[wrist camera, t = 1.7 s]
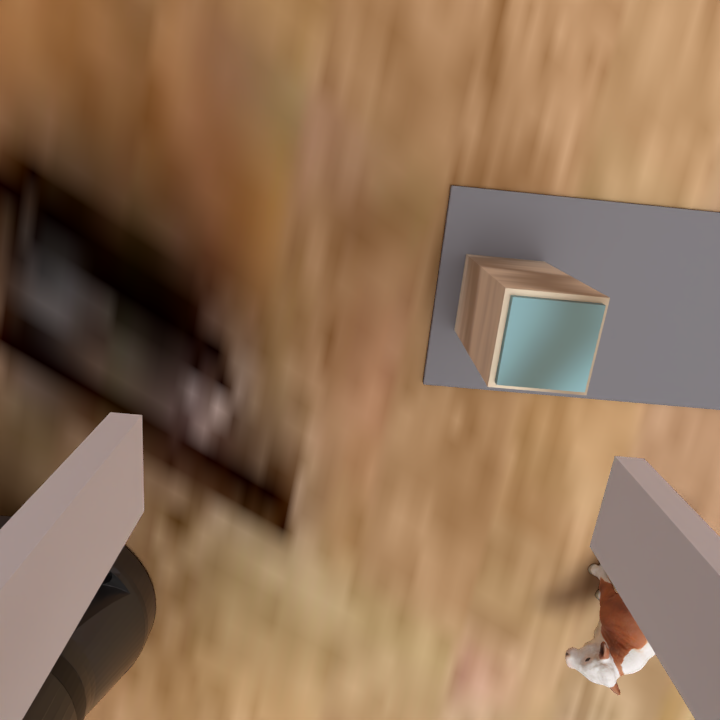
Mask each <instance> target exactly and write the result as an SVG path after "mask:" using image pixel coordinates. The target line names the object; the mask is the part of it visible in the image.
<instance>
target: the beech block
mask: <svg viewBox="0 0 720 720" xmlns="http://www.w3.org/2000/svg"><path fill="white" fill-rule="evenodd" d="M609 300H610V298H609V297H608V296H606V295H604V294H602V293H600V292H599V291H597V290H595V289H593V288H591V287H590V286H588V285H586V284H584V283H582V282H580V281H579V280H577V279H575V278H573V277H571V276H570V275H568V274H566V273H564V272H562V271H560V270H559V269H557V268H555V267H553V266H551V265H550V264H548V263H546V262H544V261H534V260H523V259H513V258H503V257H492V256H482V255H471V254H466V258H465V265H464V271H463V277H462V284H461V290H460V297H459V303H458V309H457V316H456V322H455V328H454V330H455V332H456V334H457V336H458V337H459V339H460V341H461V342H462V344H463V346H464V347H465V349H466V351H467V353H468V354H469V356H470V358H471V359H472V361H473V363H474V365H475V366H476V368H477V370H478V371H479V373H480V375H481V377H482V378H483V380H484V382H485V383H486V385H487V387H494V388H506V389H517V390H529V391H540V392H552V393H564V394H575V395H587V391H588V387H589V382H590V378H591V374H592V370H593V366H594V362H595V358H596V354H597V350H598V346H599V341H600V337H601V333H602V329H603V325H604V321H605V317H606V313H607V309H608V305H609Z"/></svg>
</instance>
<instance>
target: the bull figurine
mask: <svg viewBox="0 0 720 720" xmlns="http://www.w3.org/2000/svg"><path fill="white" fill-rule="evenodd" d="M588 571H589V573H590V574H592V575H594V576H597V577H598V578H599V580H600V584H599V590H598V591H597V592H596V594H595V596H596V598H597V599H598V600H600V606H601V607H600V620H599V623H598V625H597V627H596V629H595V630H594V639H593V640H591V641H589V642H586V643H585V644H584V646H583V647H582V648H580V649H576V648H573V647H572V648H569V649H568V650H567V651H566V657H565V659H566V663H567V665H568V667H570V668H574V669H576V670H578V671H579V672H580V673H582V674H583V675H584V676H585V677H586V678H587V679H588V680H590V681H591V682H593V683H596V684H600V685H604V686H607V687H610V689H611V690H612V691H613V692H614V693H616V694H617V695H620V690H619V688H618V685H617V682H616V680H617V678H619V677H620V676H622V675H625V674H632V673H635V672H637V671H639V670H641V669H642V668H643V667H644V665H645V664H646V663H647V661H648V660H649V659H650V658H651V657H653V656H654V655H656V654H655V652H654V651H653V649H652V648H651V646H650V644H649V643H648V641H647V639H646V638H645V636H644V634H643V633H642V631H641V629H640V628H639V626H638V625H637V623H636V621H635V620H634V618H633V616H632V615H631V613H630V611H629V610H628V608H627V607H626V605H625V603H624V602H623V600H622V598H621V597H620V595H619V593H616V592H615V591H614V588H613V585H612V583H611V582H610V581H609V580H608V577H607V574H606V572H605V570H604V569H603V567H602V566H601V564H600V566H598V565H596V564H592V565H591V566H589V568H588Z"/></svg>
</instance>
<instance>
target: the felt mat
mask: <svg viewBox="0 0 720 720" xmlns="http://www.w3.org/2000/svg"><path fill="white" fill-rule="evenodd" d="M466 254H471V255H482V256H492V257H503V258H513V259H523V260H534V261H544V262H546V263H548V264H550V265H551V266H553V267H555V268H557V269H559V270H560V271H562V272H564V273H566V274H568V275H570V276H571V277H573V278H575V279H577V280H579V281H580V282H582V283H584V284H586V285H588V286H590V287H591V288H593V289H595V290H597V291H599V292H600V293H602V294H604V295H606V296H608V297H609V298H610V300H609V305H608V309H607V313H606V317H605V321H604V325H603V329H602V333H601V337H600V341H599V346H598V350H597V354H596V358H595V362H594V366H593V370H592V374H591V378H590V382H589V387H588V391H587V395H575V394H564V393H552V392H540V391H529V390H517V389H506V388H494V387H487V385H486V383H485V382H484V380H483V378H482V377H481V375H480V373H479V371H478V370H477V368H476V366H475V365H474V363H473V361H472V359H471V358H470V356H469V354H468V353H467V351H466V349H465V347H464V346H463V344H462V342H461V341H460V339H459V337H458V336H457V334H456V332H455V330H454V328H455V322H456V316H457V309H458V303H459V297H460V290H461V284H462V277H463V271H464V265H465V258H466ZM423 384H426V385H437V386H449V387H460V388H472V389H484V390H495V391H507V392H518V393H530V394H542V395H553V396H565V397H577V398H588V399H600V400H611V401H623V402H635V403H646V404H658V405H669V406H681V407H693V408H704V409H716V410H720V213H719V212H709V211H699V210H689V209H680V208H670V207H660V206H650V205H640V204H630V203H620V202H610V201H601V200H591V199H581V198H571V197H561V196H551V195H541V194H532V193H522V192H512V191H502V190H492V189H482V188H472V187H463V186H453V185H451V189H450V196H449V203H448V210H447V217H446V224H445V231H444V238H443V245H442V252H441V259H440V266H439V273H438V280H437V287H436V294H435V301H434V308H433V315H432V322H431V329H430V336H429V343H428V350H427V357H426V364H425V371H424V378H423Z"/></svg>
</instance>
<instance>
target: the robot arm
mask: <svg viewBox="0 0 720 720" xmlns="http://www.w3.org/2000/svg"><path fill="white" fill-rule="evenodd" d="M143 512H144V478H143V433H142V415H135V414H124V413H112V412H110V413H109V414H108V415H107V416H106V418H105V419H104V420H103V421H102V422H101V423H100V424H99V425H98V426H97V427H96V428H95V429H94V430H93V431H92V432H91V433H90V435H89V436H88V437H87V438H86V439H85V440H84V441H83V442H82V443H81V444H80V445H79V446H78V447H77V448H76V449H75V450H74V452H73V453H72V454H71V455H70V456H69V457H68V458H67V459H66V460H65V461H64V462H63V463H62V464H61V465H60V466H59V467H58V469H57V470H56V471H55V472H54V473H53V474H52V475H51V476H50V477H49V478H48V479H47V480H46V481H45V482H44V483H43V484H42V485H41V487H40V488H39V489H38V490H37V491H36V492H35V493H34V494H33V495H32V496H31V497H30V498H29V499H28V500H27V501H26V502H25V504H24V505H23V506H22V507H21V508H20V509H19V510H18V511H17V512H16V513H15V514H14V515H13V516H12V517H11V516H0V720H84V718H85V716H86V715H87V714H88V713H89V712H90V711H91V710H92V708H93V707H94V706H95V705H96V704H97V703H98V702H99V701H100V700H101V699H102V698H103V697H104V696H105V695H106V694H107V692H108V691H109V690H110V689H111V688H112V687H113V686H114V685H115V684H116V683H117V681H118V680H119V679H120V678H121V677H122V676H123V675H124V674H125V673H126V672H127V671H128V670H129V669H130V668H131V666H132V665H133V664H134V663H135V661H136V660H137V658H138V657H139V655H140V653H141V651H142V649H143V647H144V645H145V642H146V640H147V638H148V635H149V633H150V631H151V628H152V626H153V623H154V618H155V611H156V603H155V595H154V590H153V587H152V584H151V581H150V579H149V577H148V575H147V573H146V571H145V570H144V568H143V566H142V565H141V564H140V562H139V561H138V560H137V558H136V557H135V556H134V555H133V554H132V553H131V552H130V551H129V550H128V549H127V548H126V547H125V546H124V545H125V543H126V541H127V540H128V538H129V536H130V535H131V533H132V531H133V529H134V528H135V526H136V524H137V523H138V521H139V519H140V517H141V516H142V514H143ZM590 548H591V549H592V551H593V552H594V554H595V556H596V557H597V559H598V561H599V562H600V564H601V566H602V567H603V569H604V570H605V572H606V574H607V575H608V577H609V579H610V580H611V582H612V584H613V585H614V587H615V588H616V590H617V592H618V593H619V595H620V597H621V598H622V600H623V602H624V603H625V605H626V607H627V608H628V610H629V611H630V613H631V615H632V616H633V618H634V620H635V621H636V623H637V625H638V626H639V628H640V629H641V631H642V633H643V634H644V636H645V638H646V639H647V641H648V643H649V644H650V646H651V648H652V649H653V651H654V652H655V654H656V656H657V657H658V659H659V661H660V662H661V664H662V666H663V667H664V669H665V670H666V672H667V674H668V675H669V677H670V679H671V680H672V682H673V684H674V685H675V687H676V689H677V690H678V692H679V693H680V695H681V697H682V698H683V700H684V702H685V703H686V705H687V707H688V708H689V710H690V711H691V713H692V715H693V716H694V718H695V720H720V537H719V536H718V535H717V534H716V533H715V532H714V530H713V529H712V528H711V527H710V526H709V525H708V524H707V523H706V522H705V521H704V520H703V519H702V518H701V517H700V516H699V515H698V514H697V513H696V512H695V511H694V510H693V509H692V508H691V507H690V506H689V505H688V504H687V503H686V501H685V500H684V499H683V498H682V497H681V496H680V495H679V494H678V493H677V492H676V491H675V490H674V489H673V488H672V487H671V486H670V485H669V484H668V483H667V482H666V481H665V480H664V479H663V478H662V477H661V476H660V475H659V474H658V473H657V471H656V470H655V469H654V468H653V467H652V466H651V465H650V464H649V463H648V462H647V461H646V460H645V459H643V458H632V457H620V456H615V457H614V461H613V464H612V468H611V472H610V475H609V479H608V482H607V486H606V490H605V493H604V497H603V500H602V504H601V508H600V511H599V515H598V518H597V522H596V526H595V529H594V533H593V536H592V540H591V544H590Z"/></svg>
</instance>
